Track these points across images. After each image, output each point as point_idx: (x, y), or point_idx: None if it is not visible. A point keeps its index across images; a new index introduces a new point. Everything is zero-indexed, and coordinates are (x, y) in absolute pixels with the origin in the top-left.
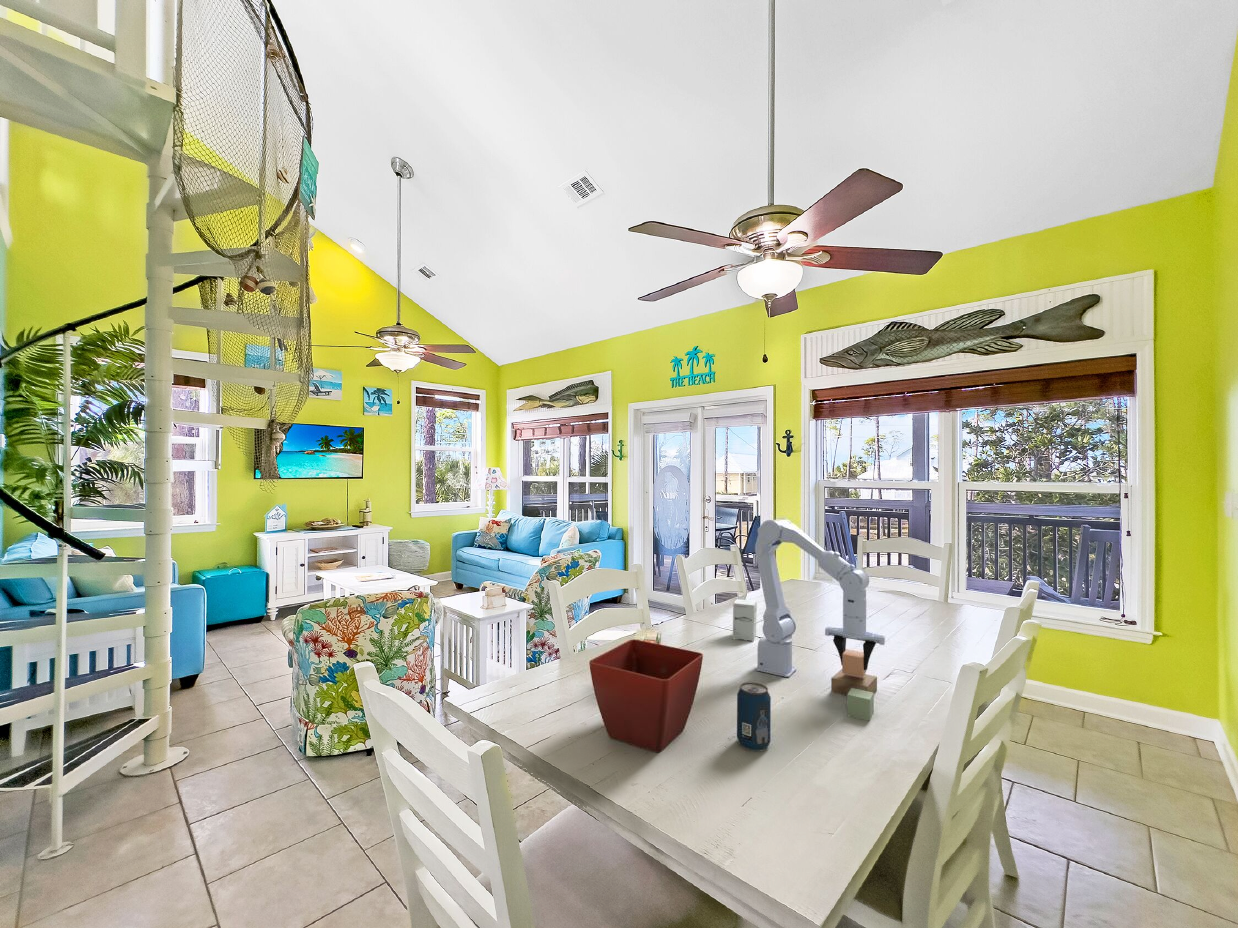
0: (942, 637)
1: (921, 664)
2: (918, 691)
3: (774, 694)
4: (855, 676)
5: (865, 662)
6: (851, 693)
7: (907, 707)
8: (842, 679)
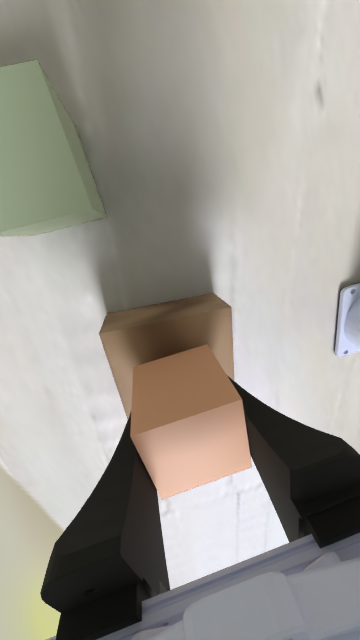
0: None
1: None
2: (66, 465)
3: (350, 105)
4: None
5: (129, 429)
6: (37, 109)
7: (8, 364)
8: (196, 325)
